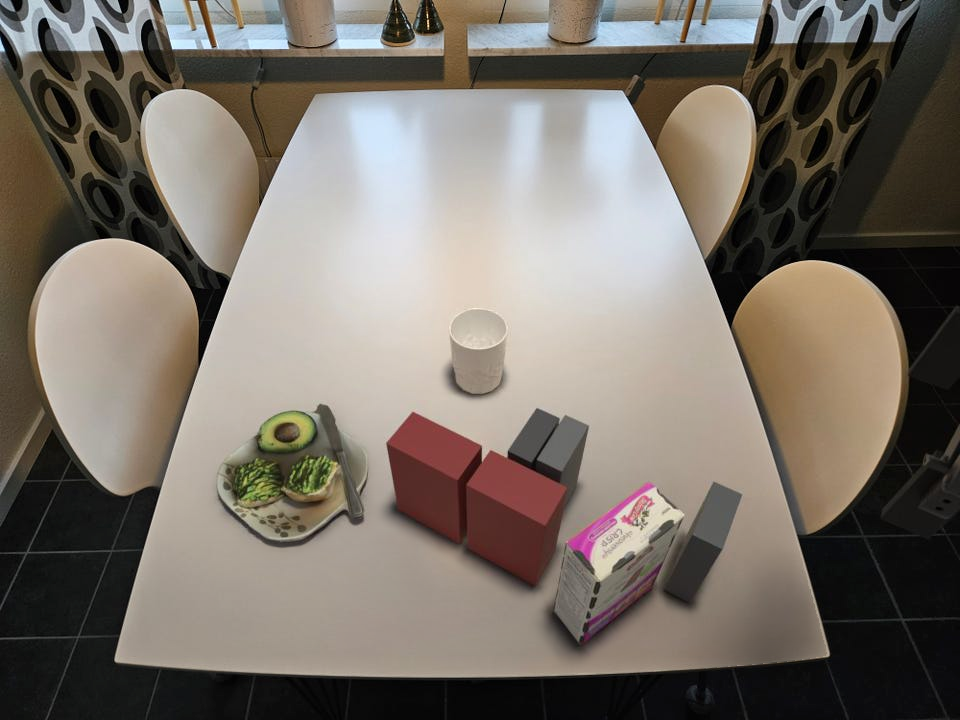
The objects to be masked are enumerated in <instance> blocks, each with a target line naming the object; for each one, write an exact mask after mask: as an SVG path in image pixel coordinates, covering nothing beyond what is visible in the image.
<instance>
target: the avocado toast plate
mask: <svg viewBox="0 0 960 720" xmlns="http://www.w3.org/2000/svg"><path fill="white" fill-rule="evenodd" d="M368 458H369V457H368V454H367V451H366V450H365V449H364V448H363V447H362V446H361V444H359V442H357V441H356V440H354V439H353V438H352V437H350V436H349V435H348V434H346V433H345V432H344V431H342V430H341V429H339V428H338V426H337V425H336V418H335V415H334V413H333V410H332V409H331V408H330V406H329V405H327V404H324V403H318V404H317V406H316V409H315V410H314V411H300V410H287V411H282V412H280V413H277V414H274V415H273V416H271V417H269V418H268V419H267V420H265V421H264V422H263V423H262V424H261V425H260V426H259V431H258V432H257V434H255V435H254V436H253V437H252V438H250V439H249V440H247V441H246V442H245V443H243V444H242V445H240V447H238V448H237V449H236V450H234V451H233V452H232V453H231V454H229V455H228V456H227V457H226V458H225V459H224V461H223V462H222V463H221V465H220V467H219V469H218V472H217V477H216V491H217V494H218V496H219V497H220V500H221V501H222V503H223V504H224V505H225V507H226V508H227V509H228V510H229V511H231V512H232V513H234V514H235V515H237V517H239V519H240V520H242V521H243V522H244V523H245V524H247V526H248V527H250V528H251V529H252V531H254V532H256V533H257V534H259V535H261V537H263V538H264V539H267V540H270V541H274V542H280V543H285V542H288V543H289V542H295V541H301V540H304V539H306V538H308V537H309V536H311V535H312V534H314V533H315V532H317V531H319V530H320V529H321V528H322V527H324V526H326V524H328V523H329V522H330V521H331V520H332V519H333V518H334V517H336V516H337V515H338V514H340V513H341V512H344V511H347V512H348V514H349V516H350V517H351V518H353V519H357V518H361V517H363V516H364V514H365V507H364V505H363V502H362V499H361V496H360V494H361V490H362V488H363V486H364V485H365V483H366V481H367V479H368V470H369V459H368Z"/></svg>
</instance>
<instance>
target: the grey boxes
mask: <svg viewBox="0 0 960 720" xmlns="http://www.w3.org/2000/svg"><path fill="white" fill-rule="evenodd" d="M589 428H590V425H589V424H587V423H584V422H582V421H580V420H578V419H575V418H573V417H572V416H569V415H567V414H564V416H563V417H562V419H561V418H560V417H558V416H556V415H554V414H552V413H550V412H548V411H545V410H543V409H540V408H539V407H536V408H535V409H534V411H533V412H532V414H531V415H530V417H529V418H528V420H527V422H526V423H525V424H524V426H523V427H522V429H521V430H520V432H519V433H518V435H517V436H516V437H515V439H514V440H513V442H512V443H511V445H510V447H509V448H508V449H507V455H506V458H508V459H510V460H512V461H514V462H516V463H519V464H521V465H523V466H525V467H527V468H529V469H531V470H533V471H535V472H537V473H539V474H541V475H543V476H545V477H547V478H549V479H551V480H553V481H555V482H557V483H559V484H561V485H563V486H565V487H567V493H566V498H565V503H564V508H563V511H564V509H566V506H567V504H569V503H568V502H569V501H570V499H571V497H572V496H573V494H574V492H575V490H576V488H577V484H578V480H579V476H580V471H581V467H582V461H583V457H584V452H585V448H586V443H587V439H588V433H589ZM704 497H705V498H704V499H703V501H702V503H701V505H700V507H699V509H698V511H697V513H696V515H695V517H694V520H693V521H692V523H691V526H690V527H689V529H688V531H687V533H686V535H685V537H684V539H683V541H682V544H681V546H680V549H679V551H678V554H677V556H676V558H675V560H674V564H673V566H672V568H671V571H670V573H669V576H668V578H667V580H666V583H665V586H664V588H663V590H664V591H666V592H668V593H669V594H672V595H674V596H676V597H677V598H679V599H681V600H683V601H685V602H687V603H689V604H690V603H691V602H692V600H693V599H694V597H695V596H696V594H697V592H698V591H699V589H700V587H701V585H702V584H703V582H704V581H705V579H706V577H707V575H708V574H709V572H710V571H711V569H712V568H713V566H714V564H715V563H716V561H717V560H718V558H719V556H720V555H721V552H722V551H723V550H724V547H725V544H726V541H727V539H728V536H729V533H730V531H731V528H732V525H733V522H734V519H735V516H736V513H737V510H738V508H739V505H740V503H741V500H742V497H743V493H740V492H738V491H736V490H734V489H732V488H730V487H727V486H725V485H723V484H721V483H718V482H716V481H713V482H712V484H711V485H710V488H709V489H708V492H707V493H706V496H704Z"/></svg>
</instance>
